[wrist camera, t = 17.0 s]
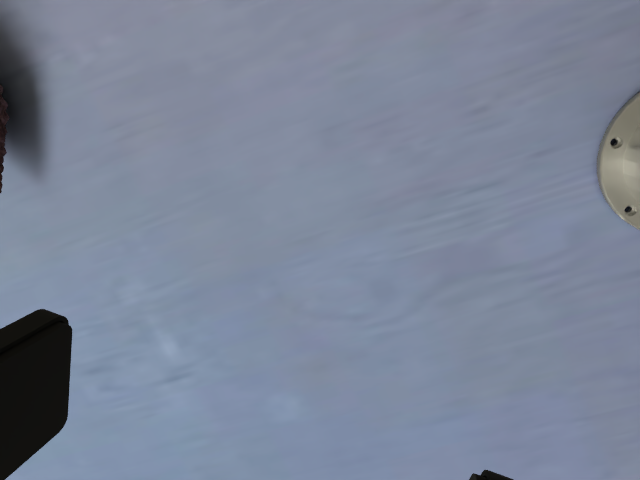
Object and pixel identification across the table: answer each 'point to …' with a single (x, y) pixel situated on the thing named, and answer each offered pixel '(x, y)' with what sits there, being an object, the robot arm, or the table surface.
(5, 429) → the robot arm
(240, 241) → the table surface
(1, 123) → the pine cone
